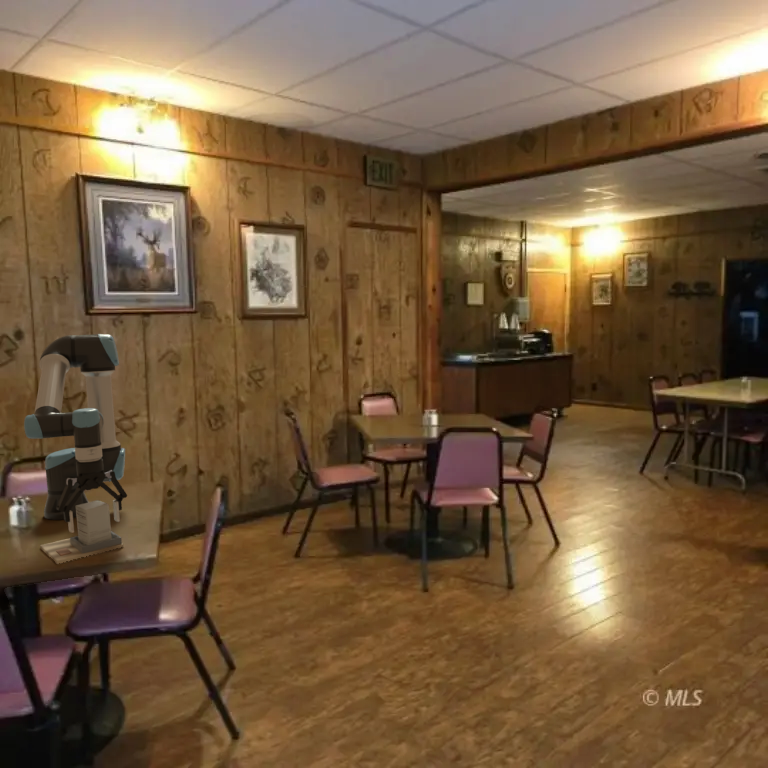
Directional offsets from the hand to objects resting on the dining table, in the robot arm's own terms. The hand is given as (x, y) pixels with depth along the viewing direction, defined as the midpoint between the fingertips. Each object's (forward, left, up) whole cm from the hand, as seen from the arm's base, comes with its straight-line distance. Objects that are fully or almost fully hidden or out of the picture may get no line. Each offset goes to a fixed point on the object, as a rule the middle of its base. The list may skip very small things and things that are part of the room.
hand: (94, 526), depth 201 cm
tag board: (-2, -4, -7) cm, 8 cm away
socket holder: (0, 0, -7) cm, 7 cm away
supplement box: (0, 0, -6) cm, 6 cm away
